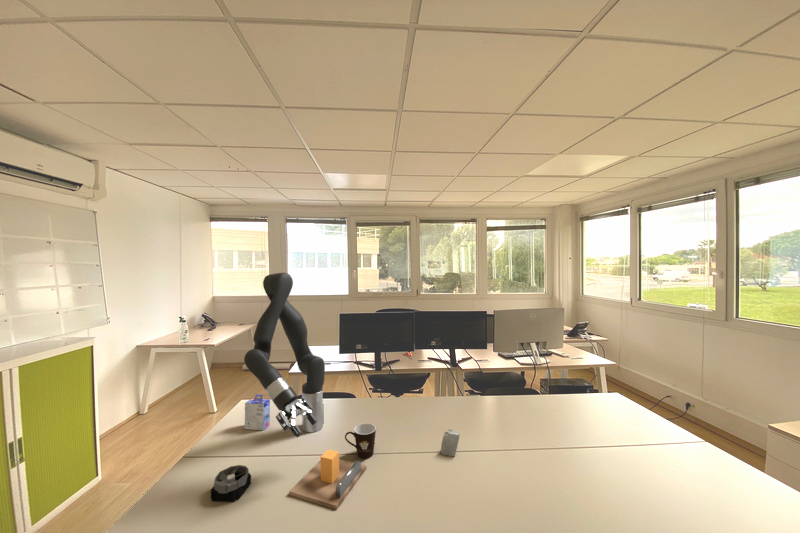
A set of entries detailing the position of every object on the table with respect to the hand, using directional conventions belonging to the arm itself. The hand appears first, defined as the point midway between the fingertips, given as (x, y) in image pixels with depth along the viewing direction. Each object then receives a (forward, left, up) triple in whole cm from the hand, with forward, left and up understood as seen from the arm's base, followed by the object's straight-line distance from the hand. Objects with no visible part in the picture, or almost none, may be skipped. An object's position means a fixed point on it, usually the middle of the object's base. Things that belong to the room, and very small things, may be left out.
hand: (307, 429), depth 108 cm
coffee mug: (-18, +12, -16) cm, 27 cm away
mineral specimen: (-31, +45, -16) cm, 57 cm away
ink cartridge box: (-20, -44, -16) cm, 51 cm away
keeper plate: (0, +9, -16) cm, 19 cm away
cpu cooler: (+15, -19, -17) cm, 29 cm away
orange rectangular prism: (0, +9, -15) cm, 18 cm away
